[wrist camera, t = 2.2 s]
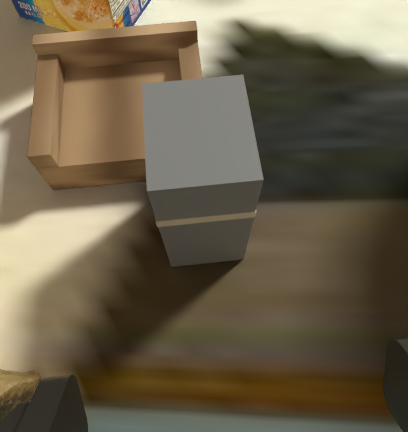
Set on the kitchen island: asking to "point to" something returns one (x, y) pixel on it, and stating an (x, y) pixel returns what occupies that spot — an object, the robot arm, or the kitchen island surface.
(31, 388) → the rock
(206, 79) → the grey lidded box
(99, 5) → the beverage box
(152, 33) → the brown open box
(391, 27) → the kitchen island surface
